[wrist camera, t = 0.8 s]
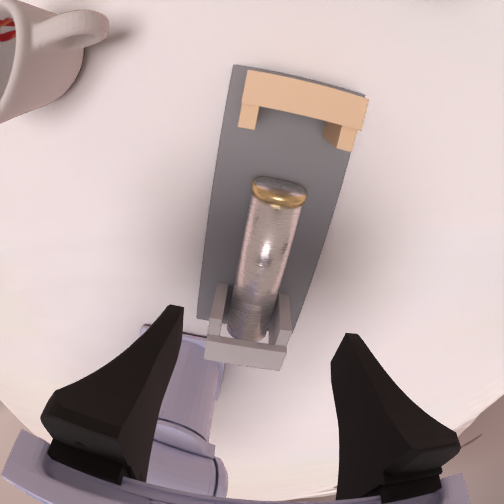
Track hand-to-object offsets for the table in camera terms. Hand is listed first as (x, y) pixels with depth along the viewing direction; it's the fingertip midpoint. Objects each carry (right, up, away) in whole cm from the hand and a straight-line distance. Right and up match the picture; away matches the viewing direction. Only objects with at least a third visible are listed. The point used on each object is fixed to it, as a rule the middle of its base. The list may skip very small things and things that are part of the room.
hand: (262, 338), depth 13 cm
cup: (-13, +18, +2) cm, 22 cm away
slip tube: (0, +4, +9) cm, 10 cm away
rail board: (+1, +6, +8) cm, 10 cm away
